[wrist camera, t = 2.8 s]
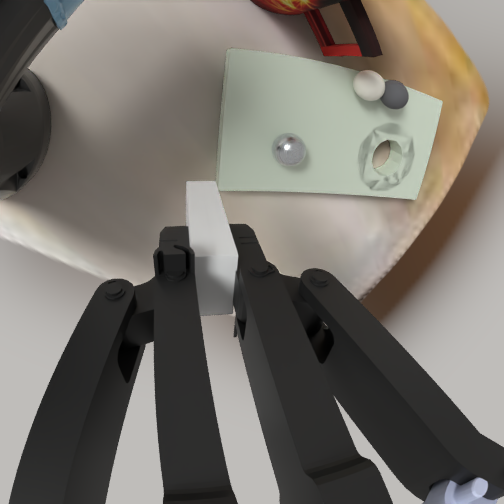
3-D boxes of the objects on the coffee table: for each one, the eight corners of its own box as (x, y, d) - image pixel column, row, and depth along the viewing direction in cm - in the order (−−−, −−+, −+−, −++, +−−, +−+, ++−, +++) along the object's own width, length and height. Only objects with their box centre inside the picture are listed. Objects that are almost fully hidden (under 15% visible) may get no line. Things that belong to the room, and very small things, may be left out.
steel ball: (265, 159, 28) (275, 170, 26) (269, 128, 27) (280, 136, 24) (296, 161, 29) (308, 172, 27) (301, 131, 27) (314, 139, 25)
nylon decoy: (375, 102, 23) (389, 104, 25) (377, 69, 21) (391, 74, 23) (346, 97, 25) (362, 99, 27) (347, 66, 23) (363, 71, 25)
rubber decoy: (370, 102, 27) (389, 108, 24) (375, 75, 25) (394, 78, 22) (392, 108, 27) (411, 115, 25) (397, 82, 26) (417, 87, 23)
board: (215, 181, 31) (218, 190, 29) (226, 49, 23) (230, 48, 21) (405, 191, 37) (416, 199, 35) (429, 97, 30) (442, 101, 28)
